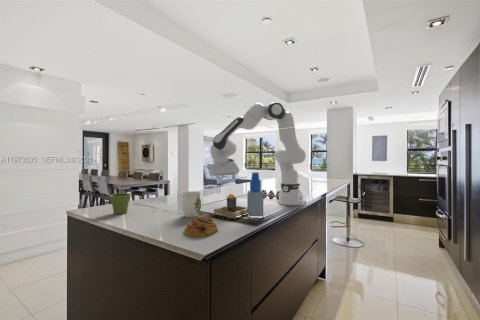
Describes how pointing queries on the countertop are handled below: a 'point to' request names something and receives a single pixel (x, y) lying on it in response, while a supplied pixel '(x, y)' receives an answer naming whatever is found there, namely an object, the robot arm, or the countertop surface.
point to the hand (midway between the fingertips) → (227, 179)
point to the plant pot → (120, 202)
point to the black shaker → (231, 204)
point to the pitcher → (191, 204)
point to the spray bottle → (255, 196)
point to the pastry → (201, 226)
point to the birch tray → (224, 212)
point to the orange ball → (231, 196)
